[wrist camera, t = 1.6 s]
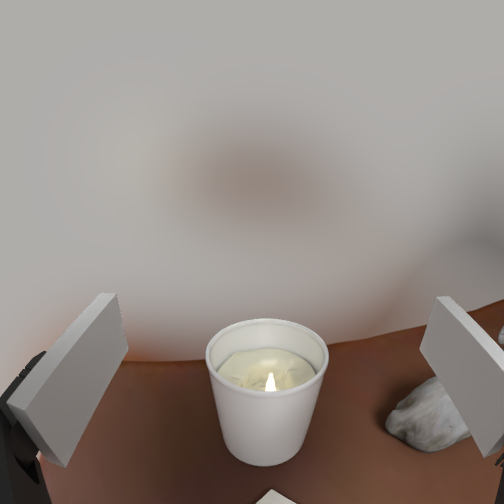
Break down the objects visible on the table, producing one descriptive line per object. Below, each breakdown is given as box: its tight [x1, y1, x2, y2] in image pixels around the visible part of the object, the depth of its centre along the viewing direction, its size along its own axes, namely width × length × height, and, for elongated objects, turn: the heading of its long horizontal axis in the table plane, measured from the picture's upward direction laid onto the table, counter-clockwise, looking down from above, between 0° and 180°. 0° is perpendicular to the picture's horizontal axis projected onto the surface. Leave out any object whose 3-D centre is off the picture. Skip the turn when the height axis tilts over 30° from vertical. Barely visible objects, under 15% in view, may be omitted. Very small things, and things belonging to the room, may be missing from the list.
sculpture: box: [385, 326, 504, 453], centre depth 23 cm, size 11×21×15 cm, turn 108°
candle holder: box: [205, 318, 329, 466], centre depth 25 cm, size 10×10×12 cm
